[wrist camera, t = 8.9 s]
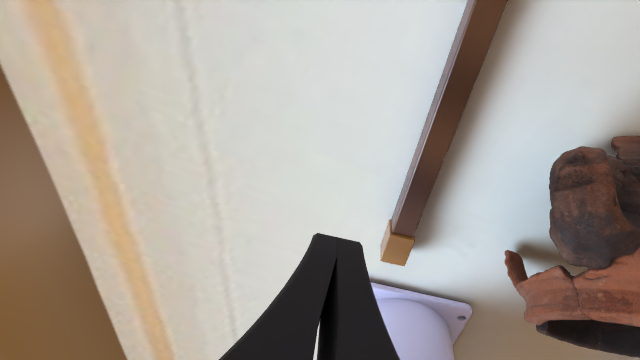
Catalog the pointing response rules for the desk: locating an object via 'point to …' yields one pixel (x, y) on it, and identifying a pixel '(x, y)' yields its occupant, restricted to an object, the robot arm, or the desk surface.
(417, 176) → the walnut slot
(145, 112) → the desk surface
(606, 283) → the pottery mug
